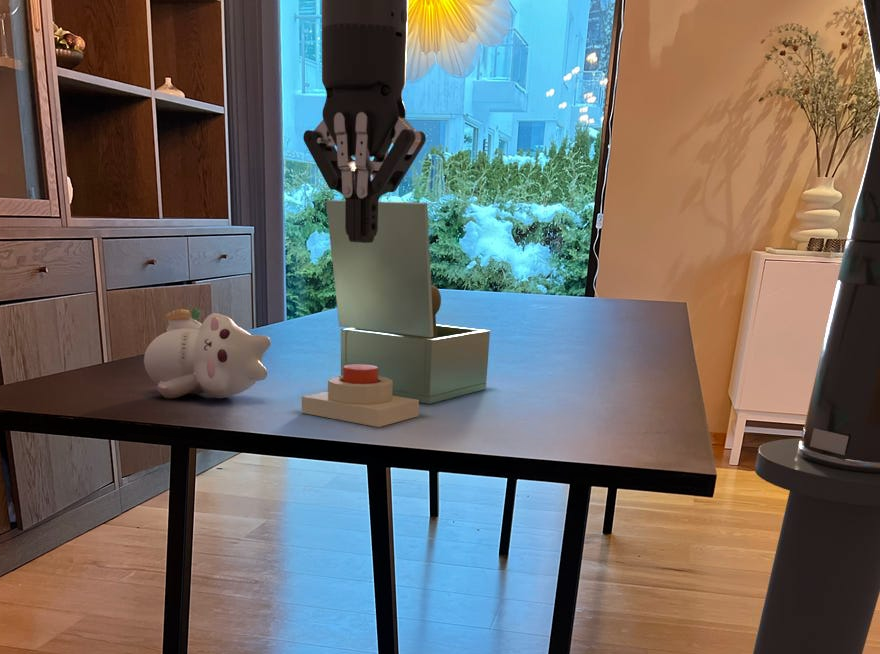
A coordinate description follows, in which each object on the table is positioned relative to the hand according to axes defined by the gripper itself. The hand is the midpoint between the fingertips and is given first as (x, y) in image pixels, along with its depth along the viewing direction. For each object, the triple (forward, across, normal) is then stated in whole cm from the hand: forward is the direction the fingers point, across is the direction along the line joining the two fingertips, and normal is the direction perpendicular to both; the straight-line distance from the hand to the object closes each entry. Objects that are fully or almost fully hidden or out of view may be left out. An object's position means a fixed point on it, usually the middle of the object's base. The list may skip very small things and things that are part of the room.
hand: (361, 242), depth 86 cm
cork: (+16, -4, +16) cm, 23 cm away
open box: (+16, -4, +16) cm, 23 cm away
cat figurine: (+17, -18, -4) cm, 25 cm away
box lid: (+3, -4, +9) cm, 10 cm away
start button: (+13, 0, 0) cm, 13 cm away
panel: (+16, 0, 0) cm, 17 cm away
